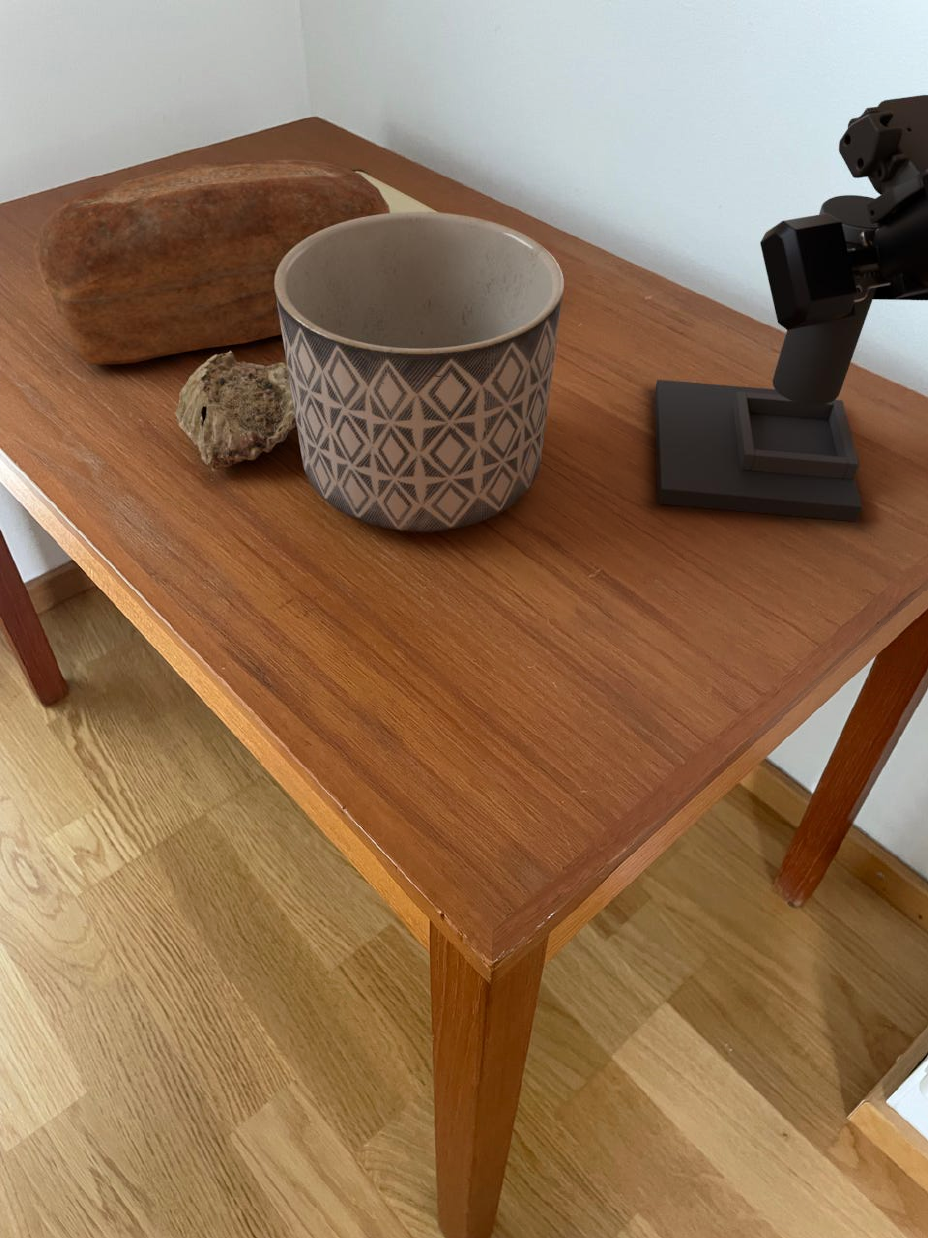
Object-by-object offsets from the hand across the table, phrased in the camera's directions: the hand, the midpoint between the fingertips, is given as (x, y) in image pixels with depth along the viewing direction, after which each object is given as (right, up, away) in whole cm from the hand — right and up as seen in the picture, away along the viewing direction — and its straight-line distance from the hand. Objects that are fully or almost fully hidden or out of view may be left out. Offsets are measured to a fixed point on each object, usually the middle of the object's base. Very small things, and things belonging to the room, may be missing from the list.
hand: (820, 296), depth 70 cm
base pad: (-2, -10, +9) cm, 14 cm away
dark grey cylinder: (0, -5, +4) cm, 7 cm away
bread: (-48, +5, +22) cm, 53 cm away
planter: (-29, -12, +7) cm, 32 cm away
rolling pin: (-30, +15, +32) cm, 46 cm away
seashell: (-44, -9, +9) cm, 46 cm away
